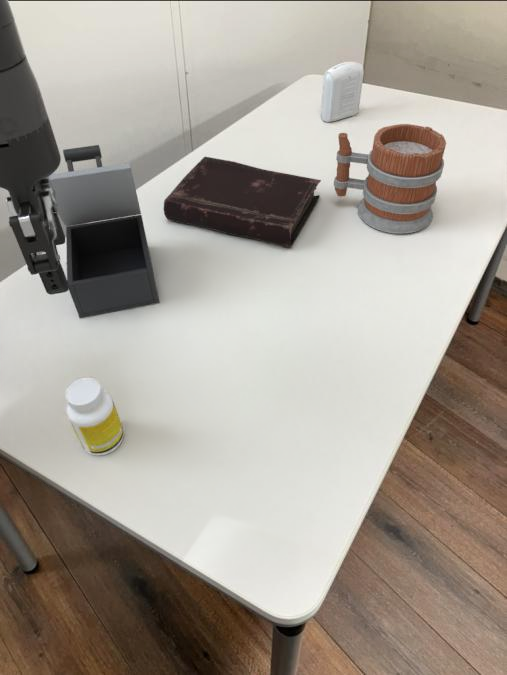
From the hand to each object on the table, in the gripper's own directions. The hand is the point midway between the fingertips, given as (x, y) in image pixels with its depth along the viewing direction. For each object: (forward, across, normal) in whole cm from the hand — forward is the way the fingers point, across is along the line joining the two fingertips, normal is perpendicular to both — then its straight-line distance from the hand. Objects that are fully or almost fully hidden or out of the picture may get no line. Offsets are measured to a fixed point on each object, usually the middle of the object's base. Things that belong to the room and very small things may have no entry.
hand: (57, 266), depth 56 cm
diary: (+21, -35, +30) cm, 51 cm away
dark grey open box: (+21, -22, +4) cm, 31 cm away
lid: (+7, -25, +4) cm, 26 cm away
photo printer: (+21, -69, +64) cm, 96 cm away
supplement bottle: (+21, +9, -1) cm, 23 cm away
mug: (+21, -27, +55) cm, 65 cm away
